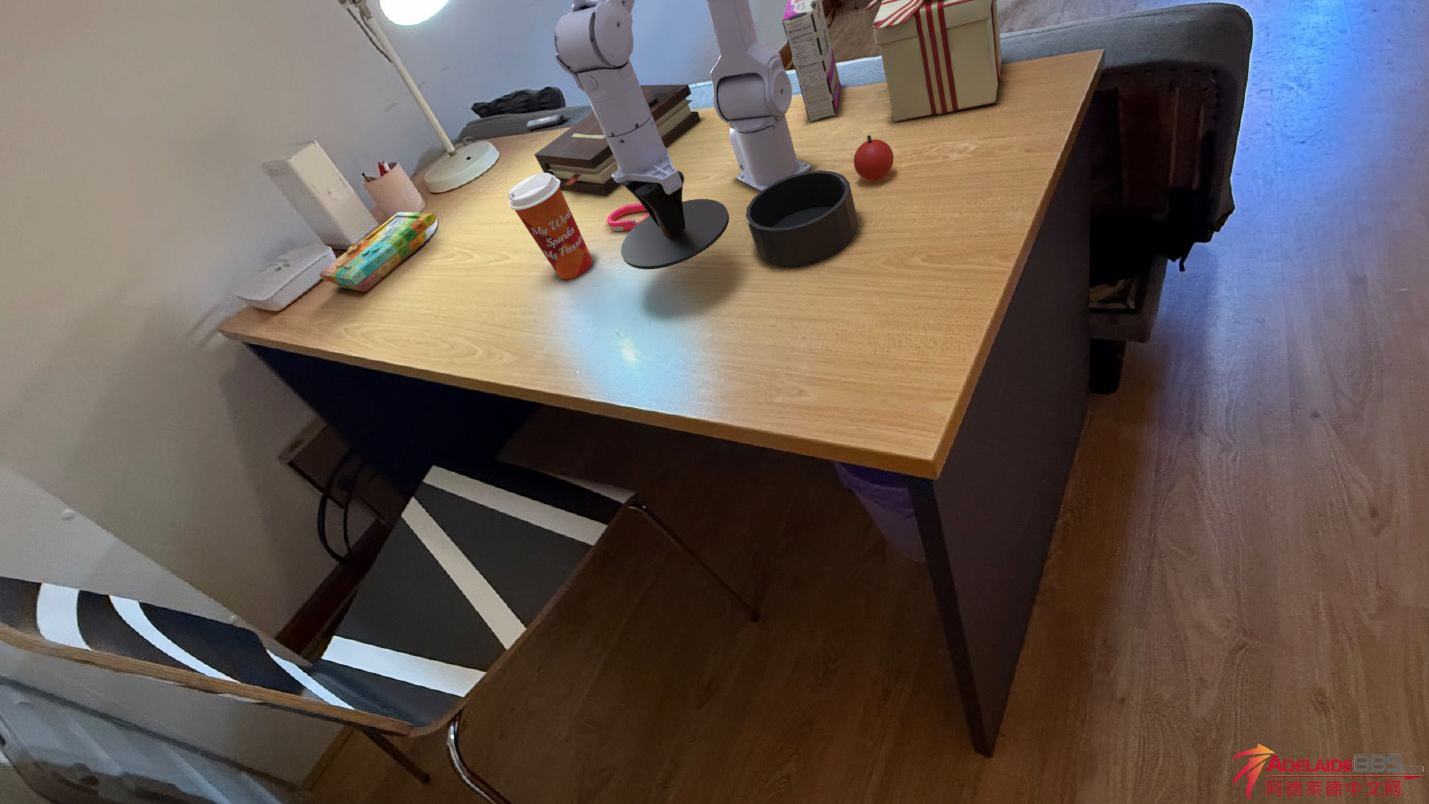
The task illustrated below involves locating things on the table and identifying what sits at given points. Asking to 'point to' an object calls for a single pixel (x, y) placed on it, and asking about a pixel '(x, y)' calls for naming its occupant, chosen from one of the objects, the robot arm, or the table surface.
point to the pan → (803, 218)
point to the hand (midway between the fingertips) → (672, 227)
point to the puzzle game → (379, 251)
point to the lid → (675, 236)
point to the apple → (873, 159)
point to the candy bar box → (812, 57)
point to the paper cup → (551, 224)
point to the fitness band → (626, 223)
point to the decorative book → (588, 155)
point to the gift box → (938, 54)
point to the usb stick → (545, 121)
